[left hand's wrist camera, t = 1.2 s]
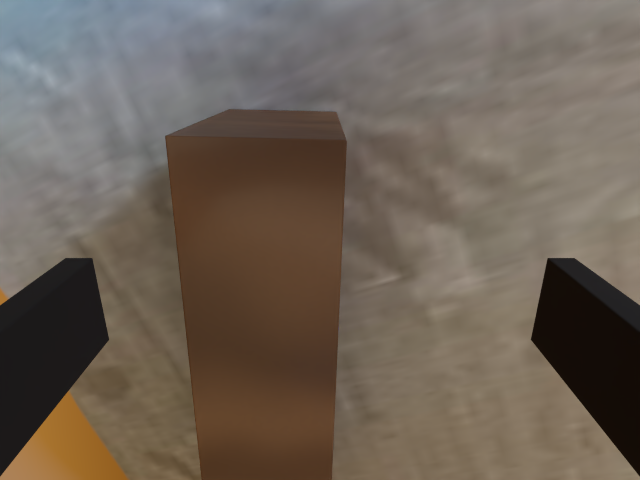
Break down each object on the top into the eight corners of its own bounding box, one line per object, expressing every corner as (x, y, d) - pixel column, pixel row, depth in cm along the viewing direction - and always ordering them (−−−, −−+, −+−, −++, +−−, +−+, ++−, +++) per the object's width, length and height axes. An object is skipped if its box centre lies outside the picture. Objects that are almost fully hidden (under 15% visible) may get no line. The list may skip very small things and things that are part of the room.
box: (228, 109, 25) (164, 135, 15) (336, 111, 25) (346, 139, 15) (246, 461, 35) (216, 620, 25) (324, 462, 35) (325, 622, 25)
